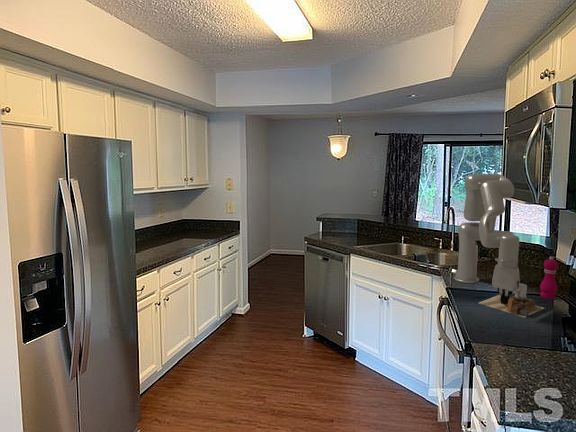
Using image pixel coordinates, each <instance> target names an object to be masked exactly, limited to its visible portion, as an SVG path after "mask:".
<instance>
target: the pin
mask: <svg viewBox="0 0 576 432" xmlns="http://www.w3.org/2000/svg"><path fill="white" fill-rule="evenodd" d="M514 304H515V299H512V298H511V299H508V311H512V306H513V305H514ZM518 313H519V314H522V315H525V316H527V317H529V316H530V315H529V311H528V310H524V309H521V308H518ZM528 315H529V316H528Z"/></svg>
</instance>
